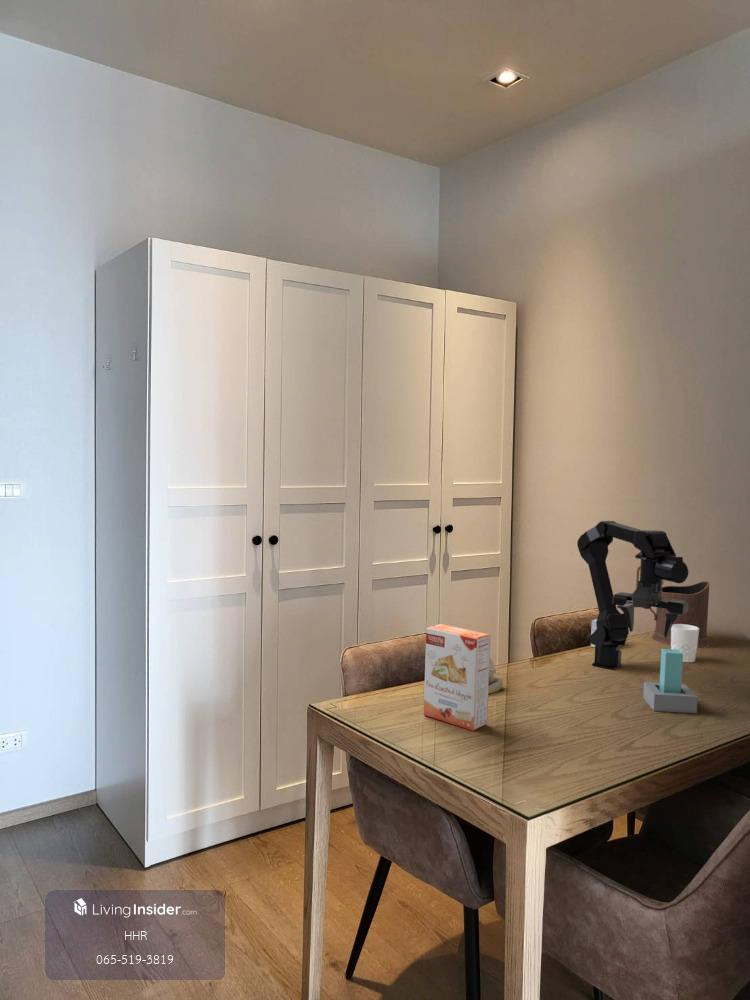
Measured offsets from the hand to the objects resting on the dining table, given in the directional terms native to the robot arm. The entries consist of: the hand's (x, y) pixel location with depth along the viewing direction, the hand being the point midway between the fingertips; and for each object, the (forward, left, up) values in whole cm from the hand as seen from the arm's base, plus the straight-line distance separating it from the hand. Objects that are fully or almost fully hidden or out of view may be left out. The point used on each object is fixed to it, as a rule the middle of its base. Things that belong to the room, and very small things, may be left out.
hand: (648, 634), depth 208 cm
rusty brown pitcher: (-9, +53, -13) cm, 55 cm away
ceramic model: (-32, -37, -13) cm, 51 cm away
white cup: (+1, +31, -13) cm, 34 cm away
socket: (+11, -16, -13) cm, 23 cm away
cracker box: (-23, -61, -13) cm, 66 cm away
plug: (+11, -16, -12) cm, 23 cm away
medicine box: (-24, +30, -13) cm, 41 cm away
